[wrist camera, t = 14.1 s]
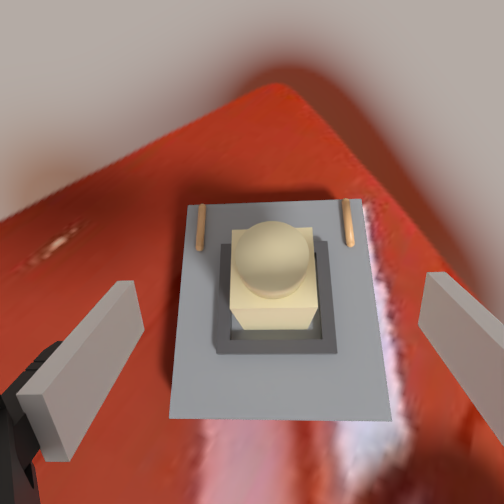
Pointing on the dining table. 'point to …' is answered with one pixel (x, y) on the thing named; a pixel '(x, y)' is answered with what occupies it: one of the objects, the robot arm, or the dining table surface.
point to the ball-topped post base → (279, 341)
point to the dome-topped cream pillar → (273, 277)
